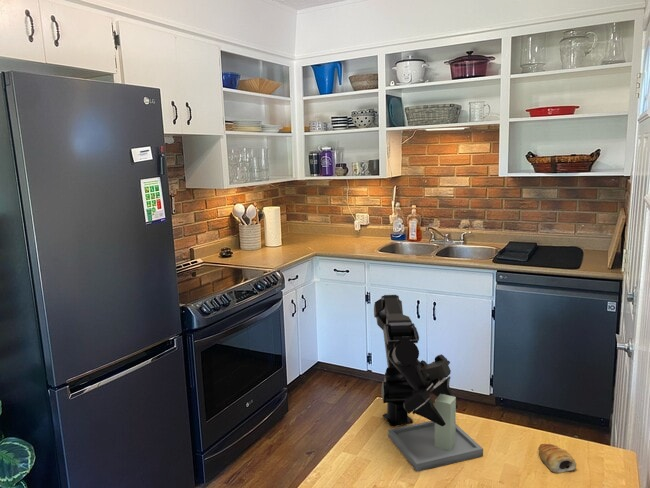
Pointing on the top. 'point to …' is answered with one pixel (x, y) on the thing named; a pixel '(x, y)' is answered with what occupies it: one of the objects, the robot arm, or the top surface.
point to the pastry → (556, 458)
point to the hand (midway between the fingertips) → (450, 416)
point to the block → (448, 413)
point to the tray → (432, 446)
